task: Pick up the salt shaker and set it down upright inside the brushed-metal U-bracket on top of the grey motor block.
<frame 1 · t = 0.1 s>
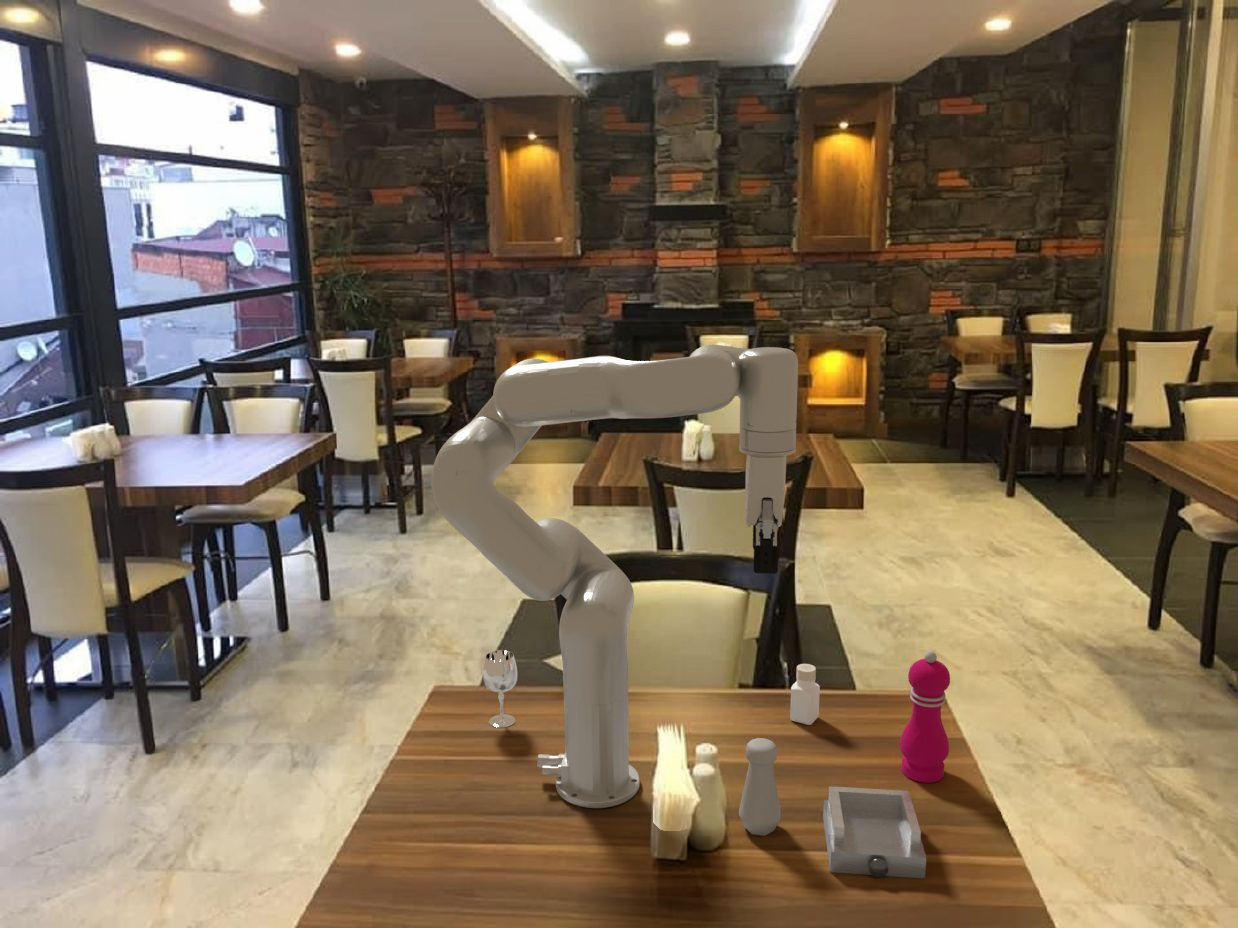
hand: (764, 560, 139), 37 cm above the table, tool pointing down, fingers open, 9 cm apart
salt shaker 2: (804, 720, 170), on the table
salt shaker: (759, 828, 140), on the table
pepper mill: (922, 773, 154), on the table
motor block: (871, 846, 135), on the table
wineglass: (502, 722, 170), on the table
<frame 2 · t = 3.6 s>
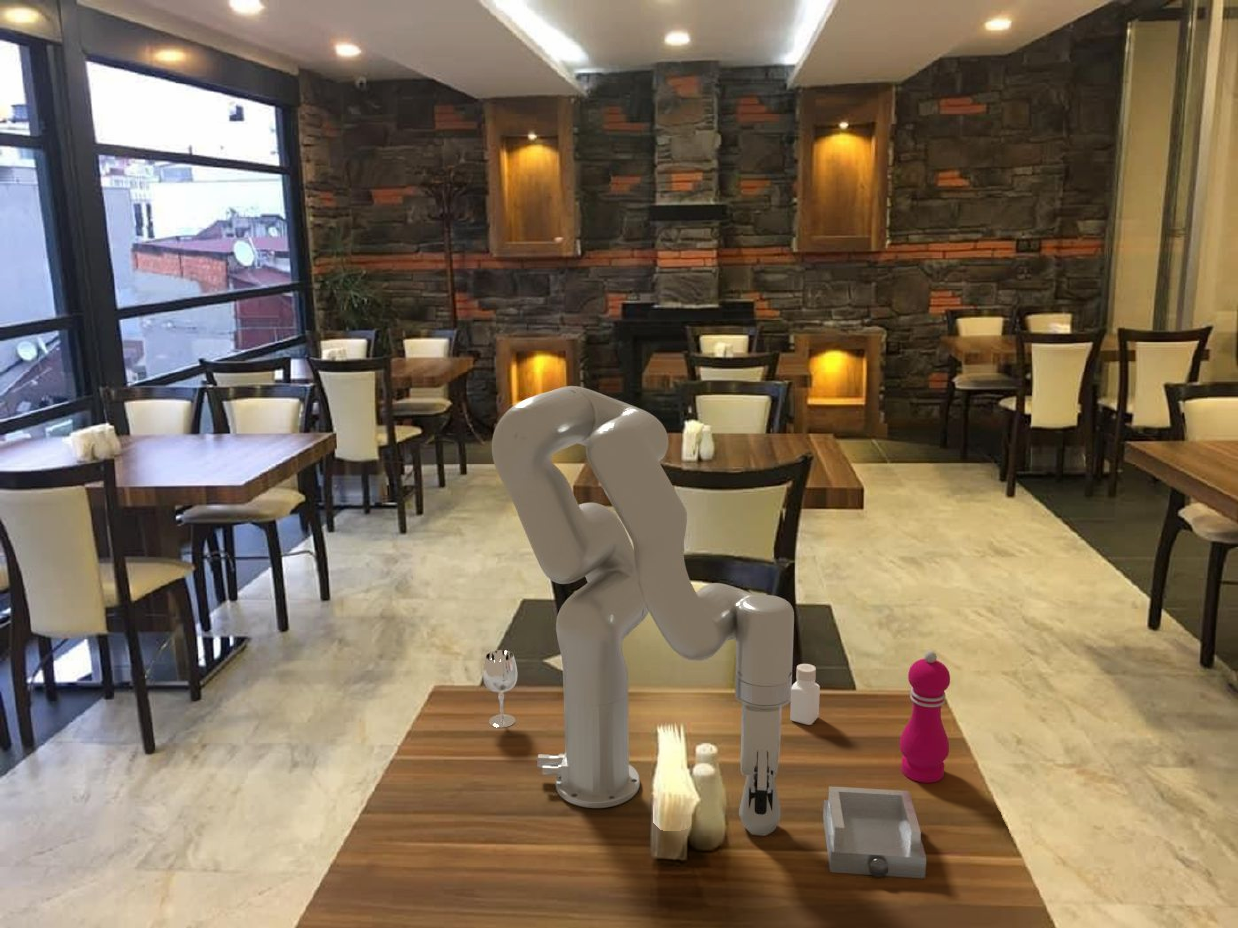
hand: (760, 806, 139), 3 cm above the table, tool pointing down, fingers closed on salt shaker, 3 cm apart
salt shaker: (759, 828, 140), on the table, touching gripper
everything else where it was.
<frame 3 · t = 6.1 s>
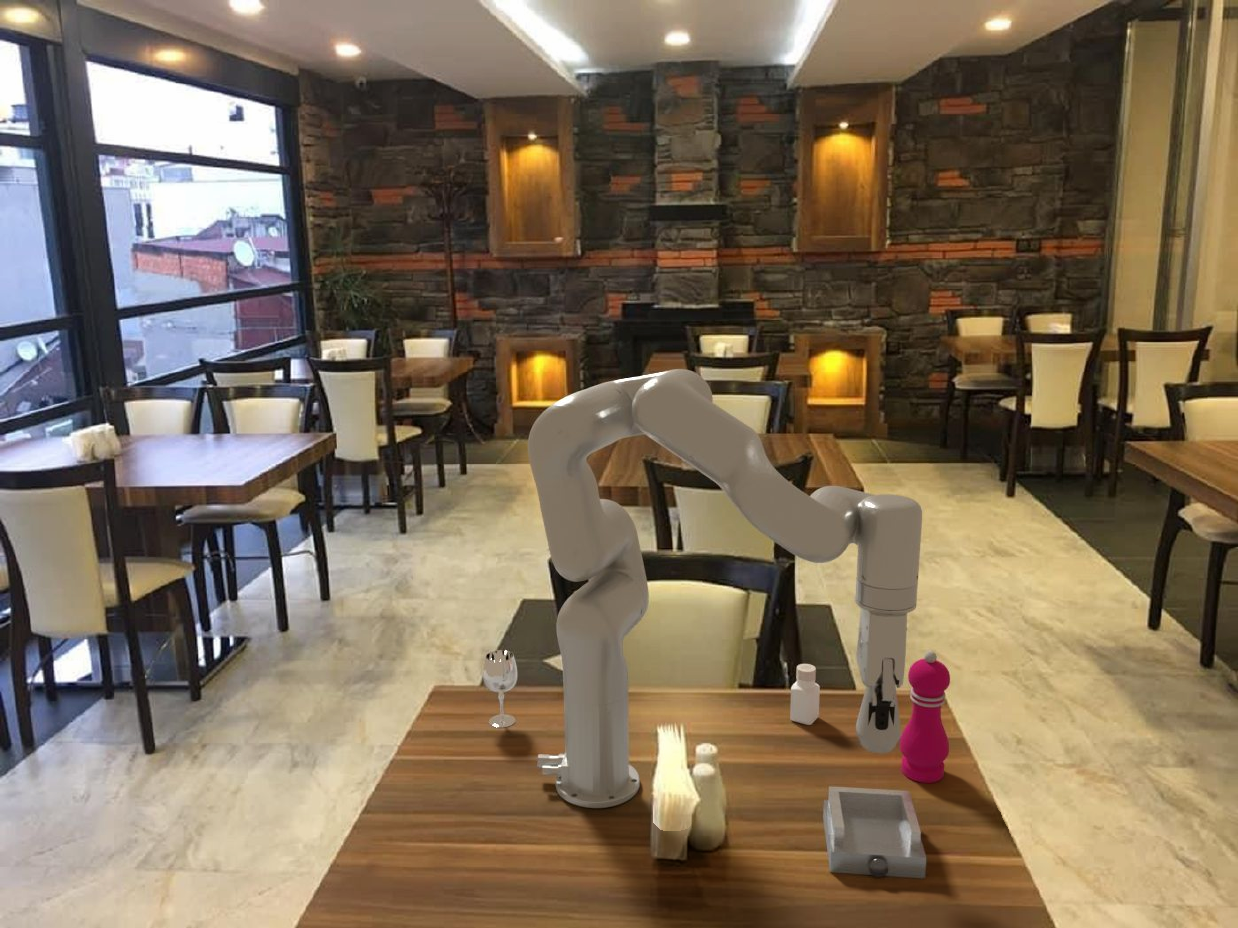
hand: (878, 723, 131), 18 cm above the table, tool pointing down, fingers closed on salt shaker, 3 cm apart
salt shaker: (877, 746, 132), point 15 cm above the table, touching gripper
everything else where it was.
when the fingers open (8 cm above the table, at t = 8.6 s): salt shaker drops 1 cm, resting on motor block.
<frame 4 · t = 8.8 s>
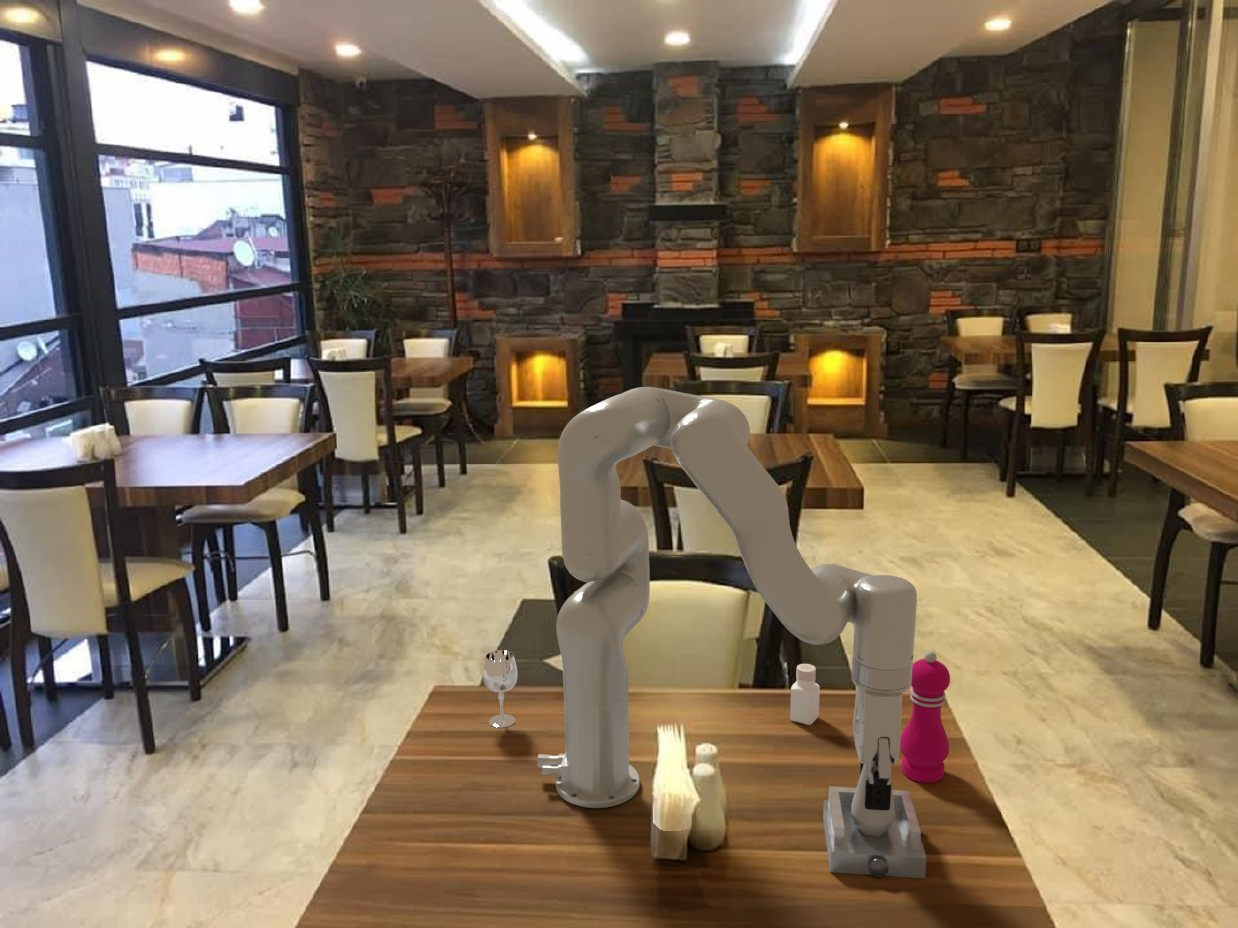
hand: (874, 795, 134), 8 cm above the table, tool pointing down, fingers open, 4 cm apart
salt shaker: (871, 828, 135), point 3 cm above the table, touching motor block
everything else where it was.
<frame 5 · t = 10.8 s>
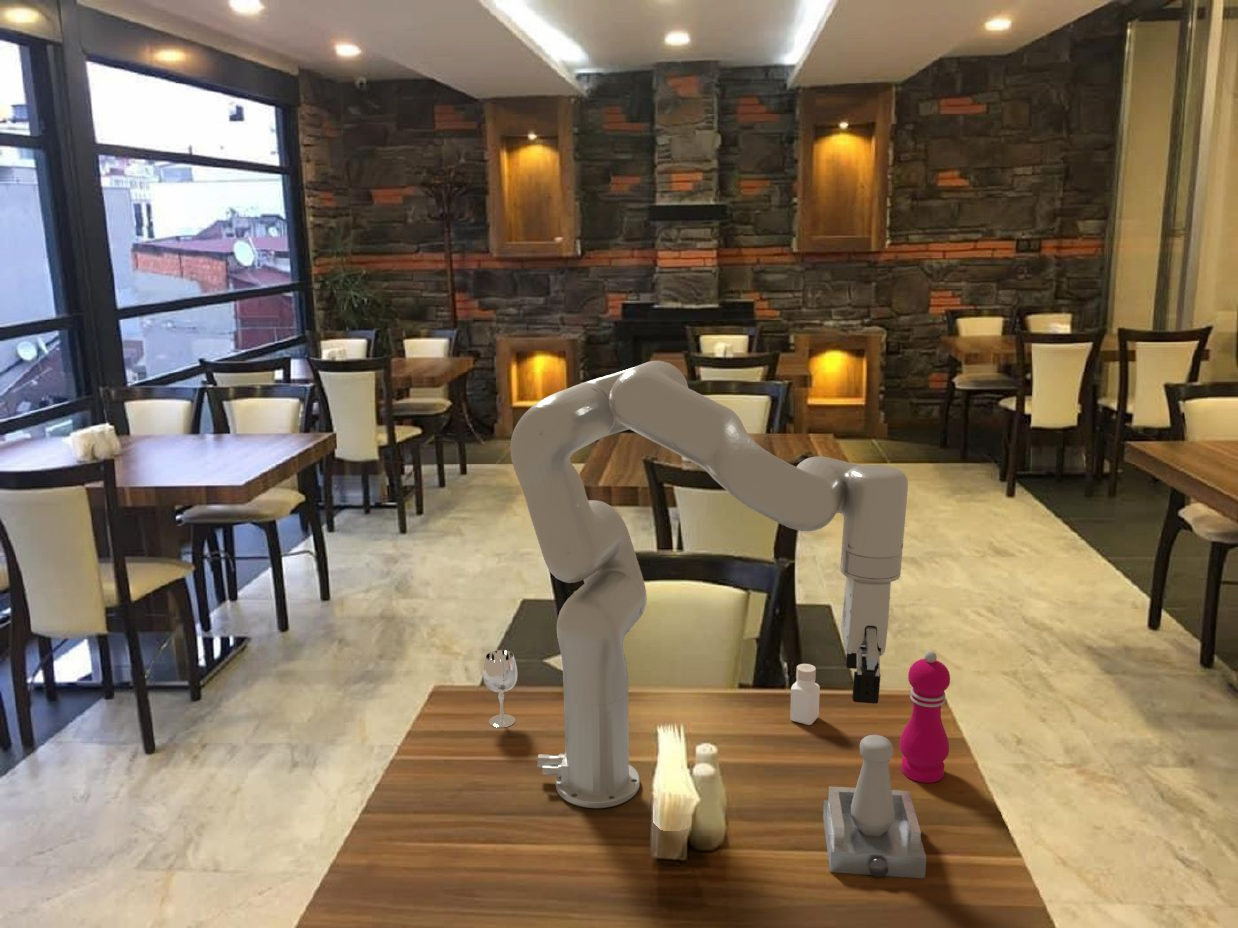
hand: (861, 684, 132), 23 cm above the table, tool pointing down, fingers open, 9 cm apart
nothing on the table moved.
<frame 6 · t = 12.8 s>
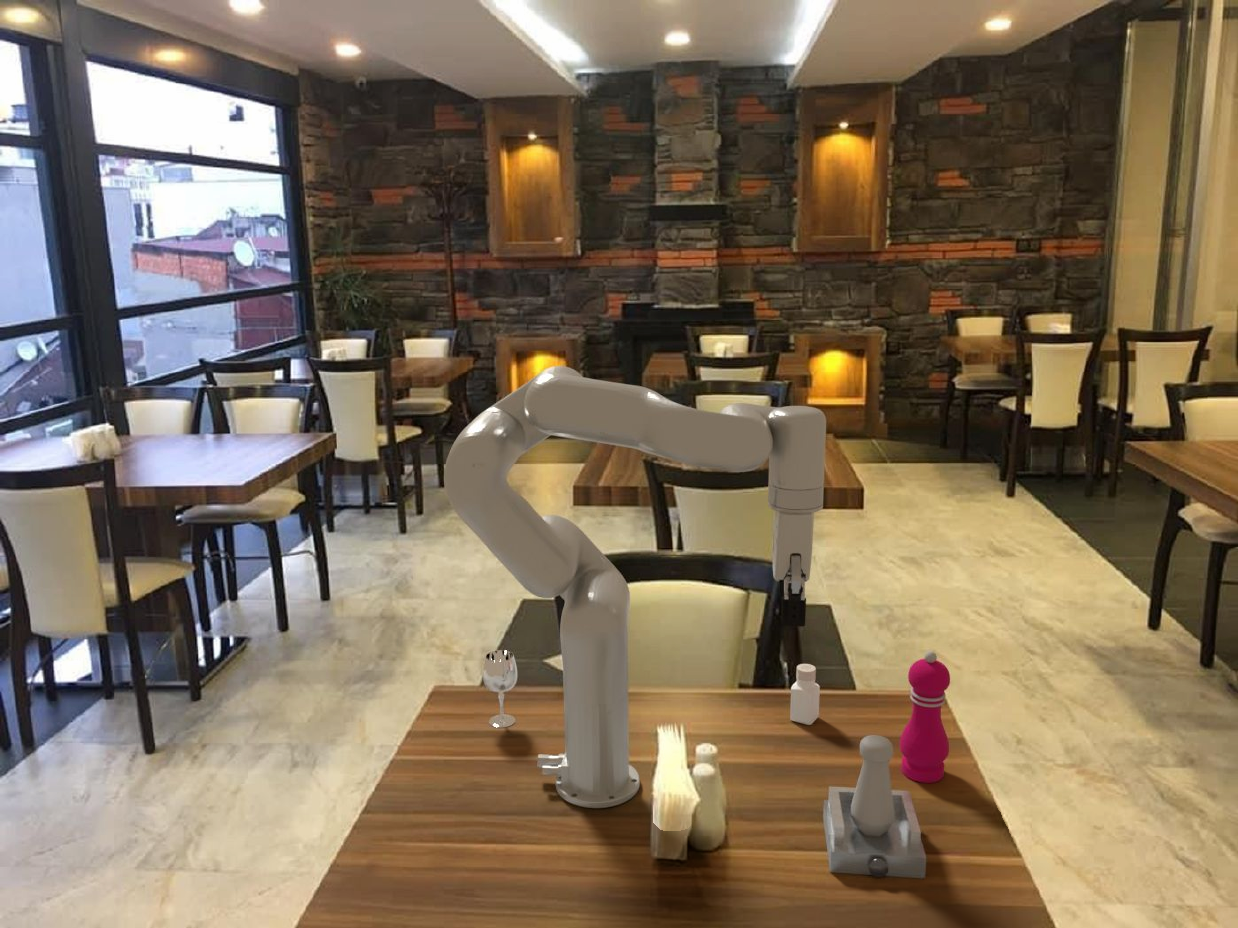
hand: (791, 611, 142), 28 cm above the table, tool pointing down, fingers open, 9 cm apart
nothing on the table moved.
at the end: salt shaker 0.1 cm off-centre on the motor block, point 2.8 cm above the motor block's base; salt shaker tilted 0°; the gripper is holding nothing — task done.
